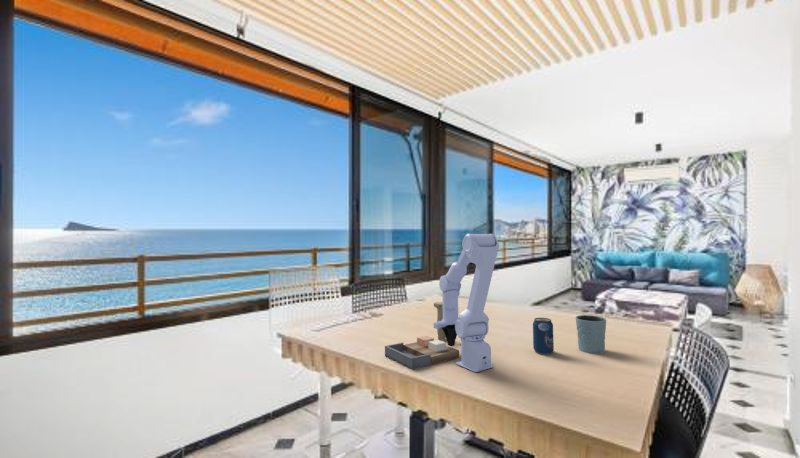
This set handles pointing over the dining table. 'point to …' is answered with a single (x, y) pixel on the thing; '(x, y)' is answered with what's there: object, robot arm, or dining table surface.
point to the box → (406, 356)
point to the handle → (439, 317)
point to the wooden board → (432, 352)
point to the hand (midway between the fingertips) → (451, 345)
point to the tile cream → (437, 345)
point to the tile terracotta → (424, 340)
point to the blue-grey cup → (591, 333)
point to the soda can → (543, 336)
